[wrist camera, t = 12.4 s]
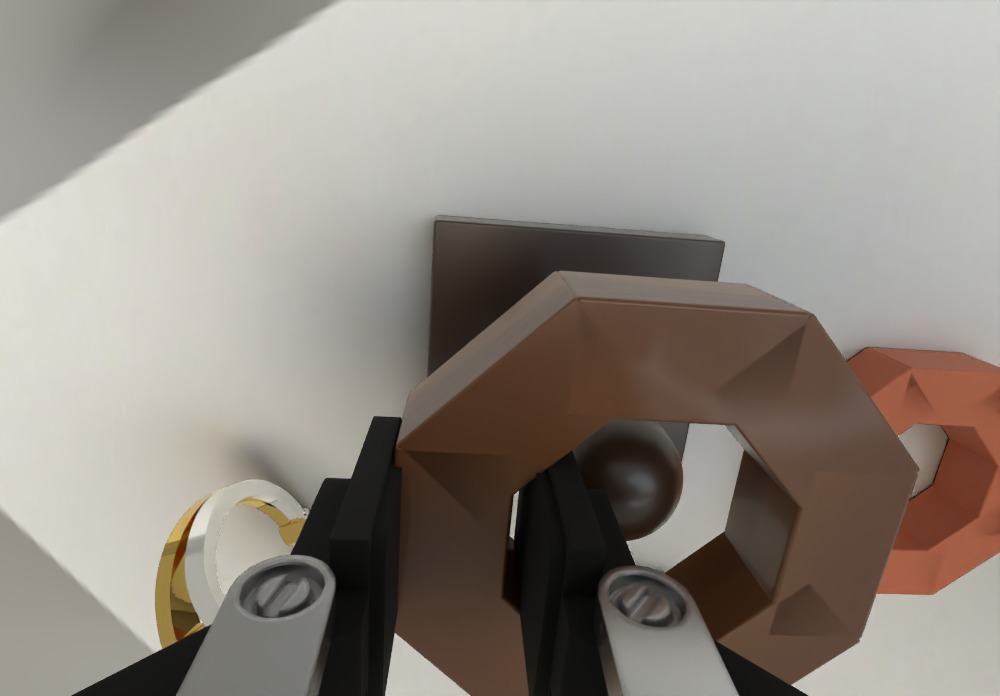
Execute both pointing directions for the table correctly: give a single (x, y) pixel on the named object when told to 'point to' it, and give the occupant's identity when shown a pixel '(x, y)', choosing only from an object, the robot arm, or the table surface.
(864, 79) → the table surface
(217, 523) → the ring
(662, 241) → the stand
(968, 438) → the terracotta octagonal ring
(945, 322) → the table surface
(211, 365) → the table surface
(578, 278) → the brown octagonal ring
